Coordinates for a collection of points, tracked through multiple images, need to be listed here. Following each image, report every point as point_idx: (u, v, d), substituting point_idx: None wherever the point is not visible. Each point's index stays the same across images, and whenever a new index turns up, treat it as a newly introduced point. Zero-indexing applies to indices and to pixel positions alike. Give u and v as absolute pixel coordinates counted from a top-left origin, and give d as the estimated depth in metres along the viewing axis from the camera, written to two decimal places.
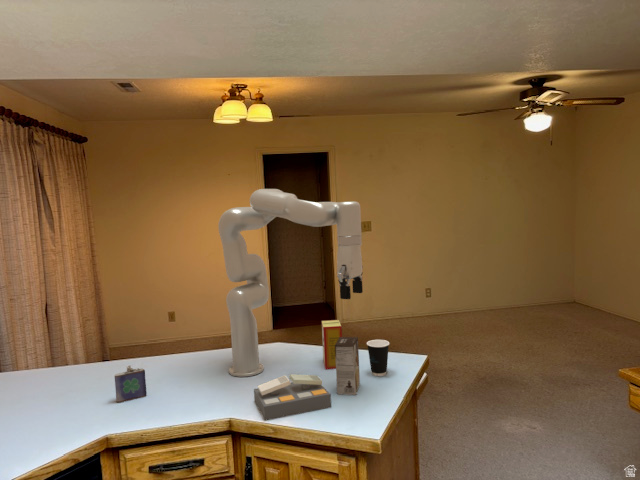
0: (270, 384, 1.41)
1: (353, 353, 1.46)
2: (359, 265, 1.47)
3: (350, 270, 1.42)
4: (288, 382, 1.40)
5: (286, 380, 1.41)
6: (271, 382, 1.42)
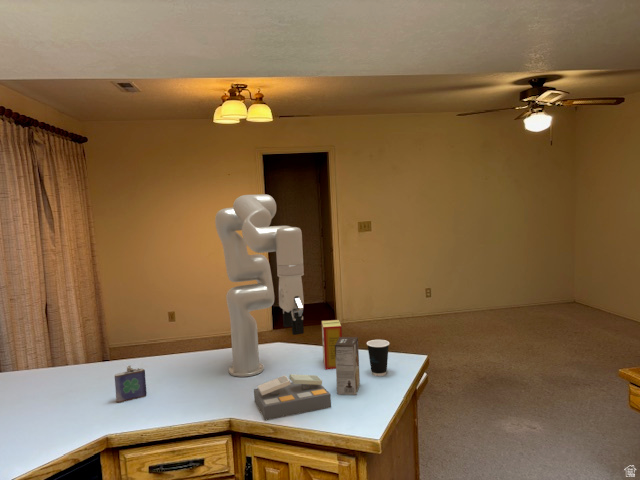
0: (270, 384, 1.41)
1: (353, 353, 1.46)
2: None
3: (303, 301, 1.32)
4: (288, 382, 1.40)
5: (286, 380, 1.41)
6: (271, 382, 1.42)
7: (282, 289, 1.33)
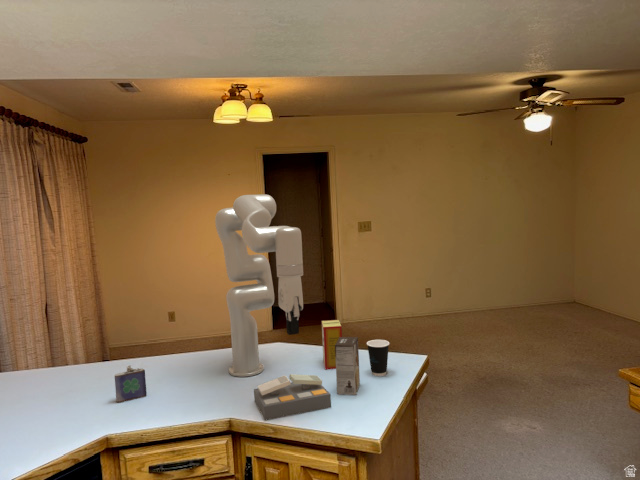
0: (270, 384, 1.41)
1: (353, 353, 1.46)
2: None
3: (302, 301, 1.31)
4: (288, 382, 1.40)
5: (286, 380, 1.41)
6: (271, 382, 1.42)
7: (281, 289, 1.33)
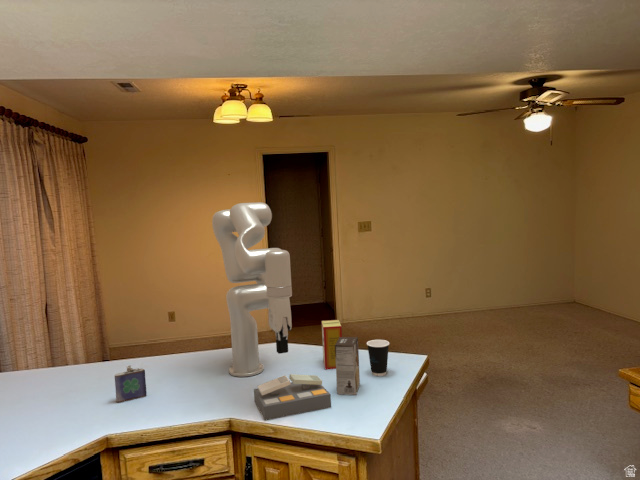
0: (270, 384, 1.41)
1: (353, 353, 1.46)
2: None
3: (291, 322, 1.37)
4: (288, 382, 1.40)
5: (286, 380, 1.41)
6: (271, 382, 1.42)
7: (271, 310, 1.39)
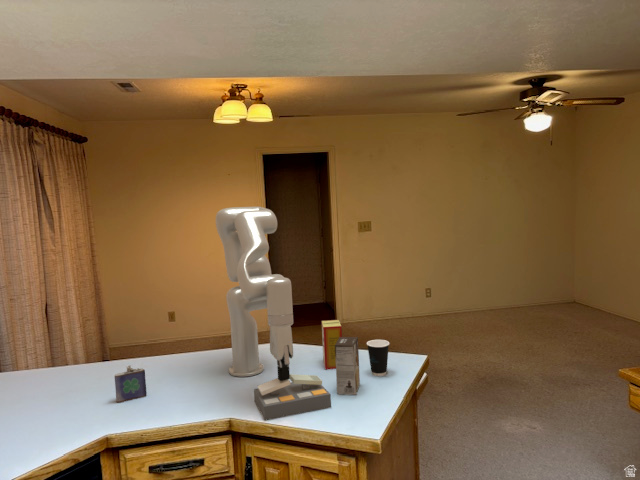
0: (270, 384, 1.41)
1: (353, 353, 1.46)
2: None
3: (292, 349, 1.37)
4: (288, 382, 1.40)
5: (286, 380, 1.41)
6: (271, 382, 1.42)
7: (272, 337, 1.39)
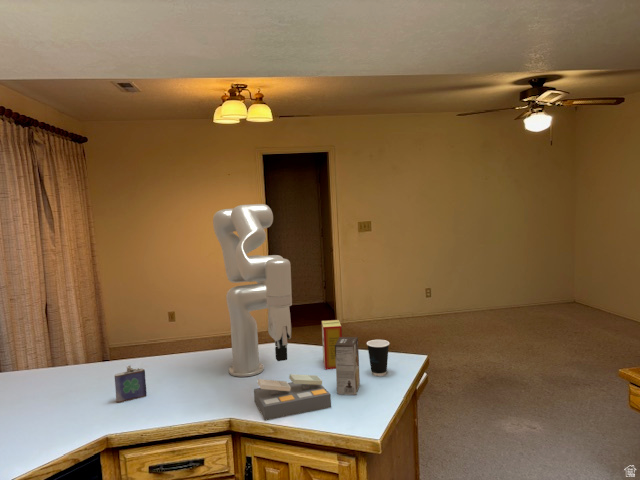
0: (271, 382, 1.41)
1: (353, 353, 1.46)
2: None
3: (290, 330, 1.38)
4: (288, 388, 1.40)
5: (287, 386, 1.41)
6: (272, 382, 1.42)
7: (271, 318, 1.39)
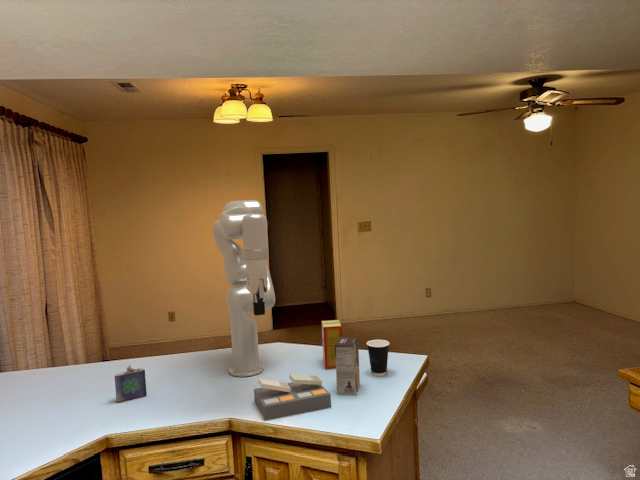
0: (271, 382, 1.41)
1: (353, 353, 1.46)
2: None
3: (267, 284, 1.40)
4: (288, 389, 1.40)
5: (287, 387, 1.41)
6: (272, 381, 1.42)
7: (248, 272, 1.42)
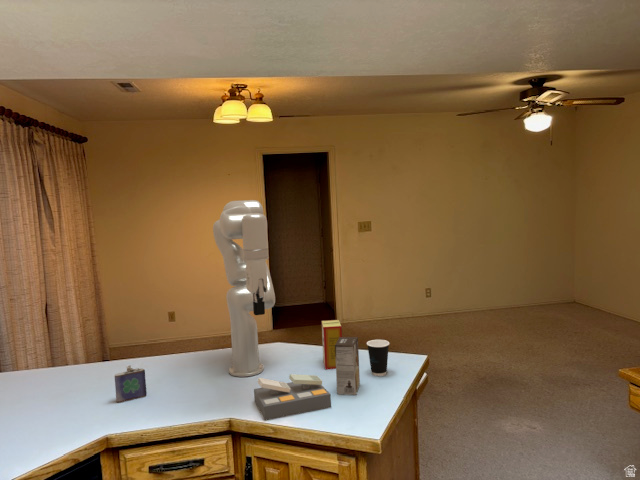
0: (271, 382, 1.41)
1: (353, 353, 1.46)
2: None
3: (267, 283, 1.40)
4: (288, 389, 1.40)
5: (287, 387, 1.41)
6: (272, 381, 1.42)
7: (248, 272, 1.42)
